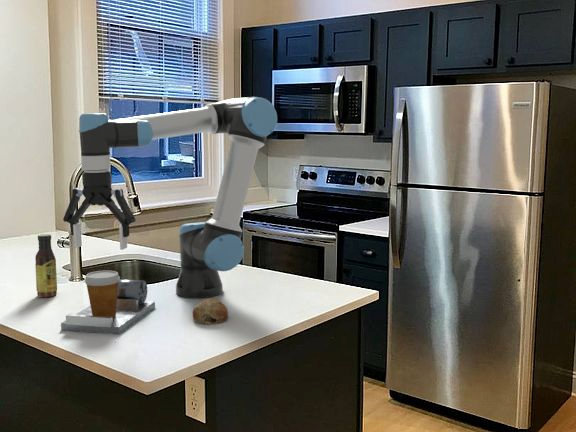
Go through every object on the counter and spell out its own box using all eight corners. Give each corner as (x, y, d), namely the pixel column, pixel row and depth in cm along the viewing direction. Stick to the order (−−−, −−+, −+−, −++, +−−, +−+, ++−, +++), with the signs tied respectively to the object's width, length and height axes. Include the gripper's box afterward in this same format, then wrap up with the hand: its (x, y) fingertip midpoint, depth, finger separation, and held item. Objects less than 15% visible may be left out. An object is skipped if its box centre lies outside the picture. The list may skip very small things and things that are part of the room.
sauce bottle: (50, 298, 207) (46, 237, 203) (33, 297, 208) (28, 236, 205) (61, 293, 213) (58, 233, 210) (44, 292, 214) (40, 232, 211)
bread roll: (194, 336, 182) (195, 315, 178) (189, 312, 190) (190, 291, 186) (229, 333, 185) (231, 312, 180) (223, 309, 193) (224, 288, 188)
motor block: (155, 307, 197) (154, 278, 196) (118, 335, 173) (116, 302, 171) (103, 304, 201) (102, 275, 199) (59, 331, 176) (57, 298, 175)
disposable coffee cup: (119, 309, 189) (117, 268, 187) (123, 318, 180) (121, 276, 178) (85, 312, 185) (83, 271, 183) (87, 322, 177) (85, 280, 175)
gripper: (145, 170, 177) (148, 246, 181) (61, 169, 182) (66, 243, 186) (133, 172, 170) (137, 252, 173) (46, 171, 175) (52, 249, 178)
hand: (100, 247), depth 180 cm, fingers open, 13 cm apart
